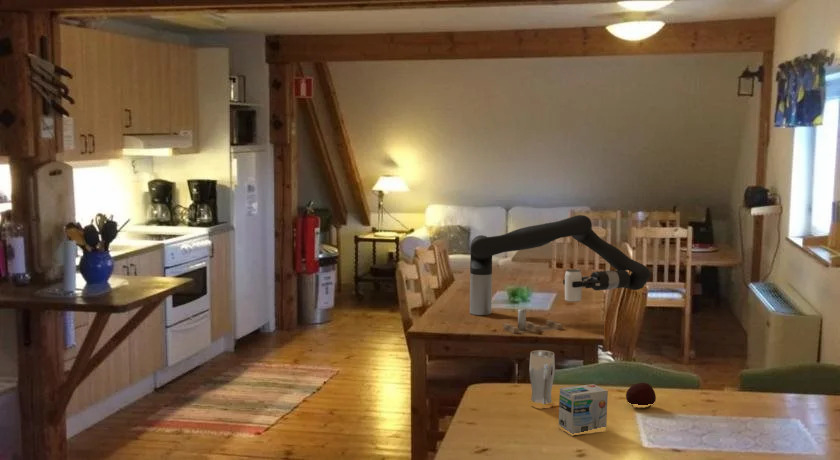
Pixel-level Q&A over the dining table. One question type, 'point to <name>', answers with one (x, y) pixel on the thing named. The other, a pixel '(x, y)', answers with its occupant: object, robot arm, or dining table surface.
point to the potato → (641, 394)
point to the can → (571, 292)
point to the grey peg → (522, 319)
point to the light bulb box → (582, 408)
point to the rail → (534, 327)
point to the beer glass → (541, 375)
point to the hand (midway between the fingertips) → (568, 283)
